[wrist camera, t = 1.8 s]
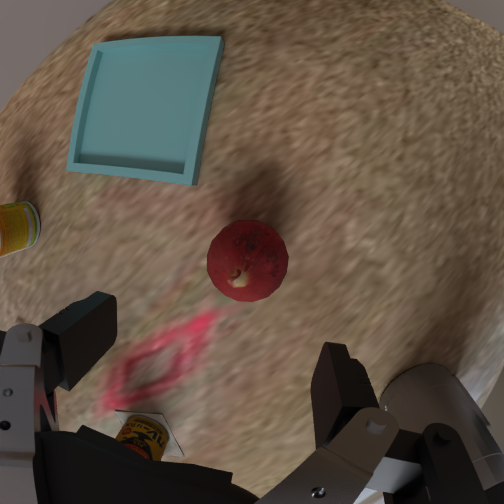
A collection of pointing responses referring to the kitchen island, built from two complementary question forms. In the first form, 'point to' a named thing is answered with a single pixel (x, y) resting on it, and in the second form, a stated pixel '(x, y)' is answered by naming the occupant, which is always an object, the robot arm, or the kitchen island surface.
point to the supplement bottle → (18, 227)
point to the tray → (146, 108)
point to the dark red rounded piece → (247, 260)
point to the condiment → (147, 435)
